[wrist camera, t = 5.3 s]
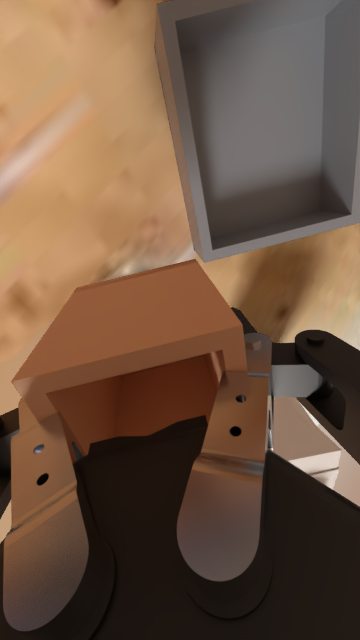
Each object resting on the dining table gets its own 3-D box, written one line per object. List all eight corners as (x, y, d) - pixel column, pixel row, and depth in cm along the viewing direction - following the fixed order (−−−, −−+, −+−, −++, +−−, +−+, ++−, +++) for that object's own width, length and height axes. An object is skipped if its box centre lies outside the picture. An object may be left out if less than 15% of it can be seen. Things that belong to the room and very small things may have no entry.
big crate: (154, 47, 23) (156, 3, 17) (331, 2, 23) (388, -55, 17) (194, 250, 31) (204, 262, 26) (323, 217, 31) (360, 222, 26)
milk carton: (211, 393, 42) (259, 545, 24) (206, 347, 37) (261, 489, 20) (264, 383, 42) (350, 526, 24) (265, 336, 38) (370, 466, 20)
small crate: (76, 287, 13) (11, 381, 6) (195, 258, 13) (242, 324, 7) (116, 379, 15) (96, 507, 9) (213, 355, 16) (258, 466, 9)
